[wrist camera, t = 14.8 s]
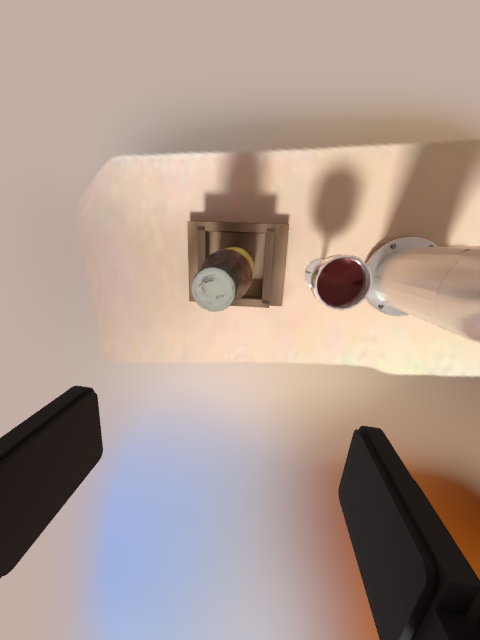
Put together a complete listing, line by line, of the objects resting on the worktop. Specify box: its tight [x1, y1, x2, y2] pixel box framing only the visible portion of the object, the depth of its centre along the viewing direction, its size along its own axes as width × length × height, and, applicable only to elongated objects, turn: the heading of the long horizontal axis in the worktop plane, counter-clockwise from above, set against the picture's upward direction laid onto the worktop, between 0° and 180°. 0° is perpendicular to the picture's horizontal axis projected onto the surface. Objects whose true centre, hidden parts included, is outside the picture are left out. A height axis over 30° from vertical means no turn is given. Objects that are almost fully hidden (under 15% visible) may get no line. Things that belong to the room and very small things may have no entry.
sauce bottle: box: [191, 247, 254, 312], centre depth 30 cm, size 6×6×20 cm
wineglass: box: [305, 254, 372, 310], centre depth 35 cm, size 7×7×12 cm
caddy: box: [188, 221, 289, 308], centre depth 39 cm, size 16×13×4 cm
